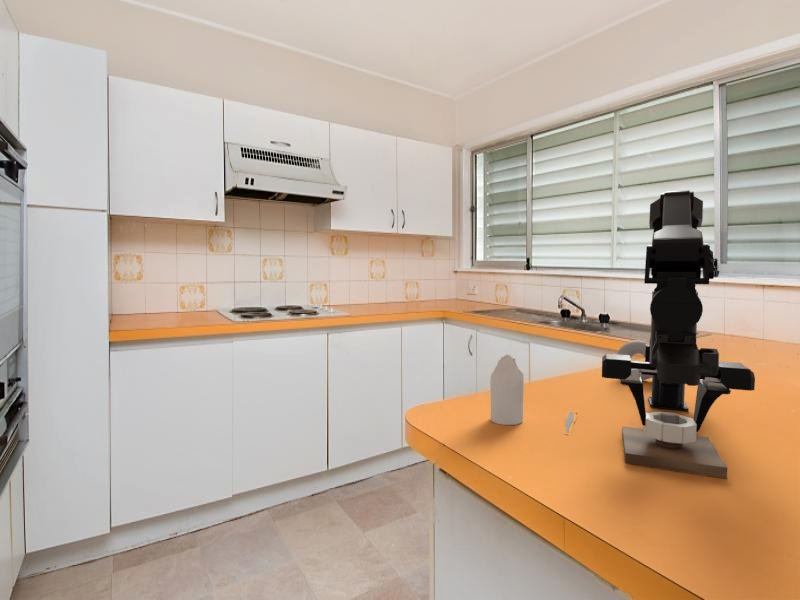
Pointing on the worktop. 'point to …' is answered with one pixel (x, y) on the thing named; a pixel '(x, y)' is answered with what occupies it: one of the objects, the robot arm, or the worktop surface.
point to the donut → (635, 351)
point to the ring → (670, 429)
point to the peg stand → (672, 452)
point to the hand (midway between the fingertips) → (669, 428)
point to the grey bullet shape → (507, 392)
